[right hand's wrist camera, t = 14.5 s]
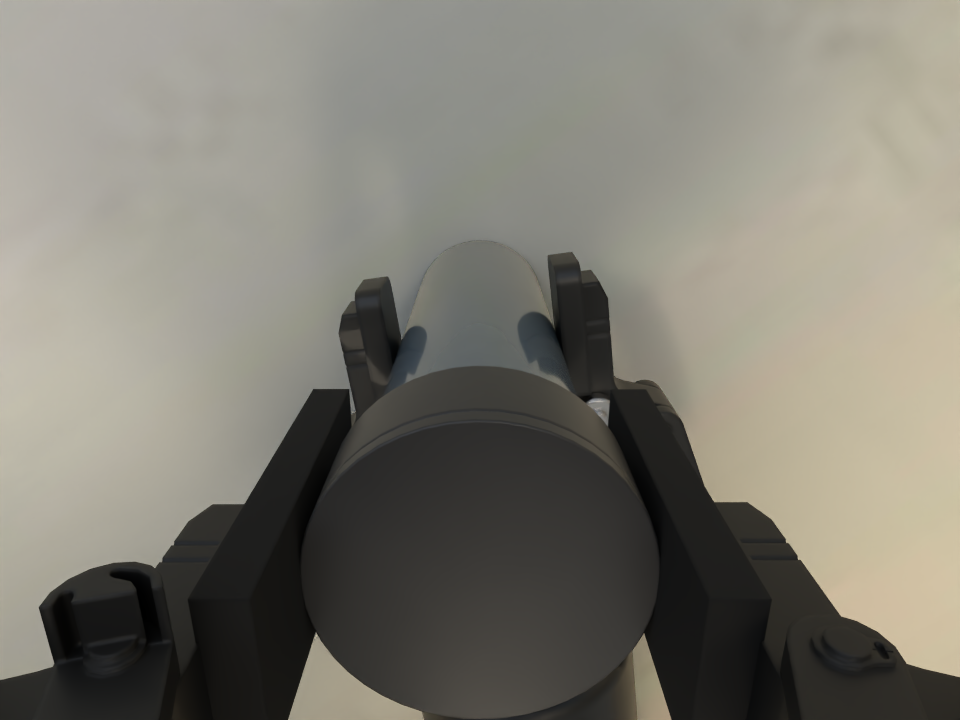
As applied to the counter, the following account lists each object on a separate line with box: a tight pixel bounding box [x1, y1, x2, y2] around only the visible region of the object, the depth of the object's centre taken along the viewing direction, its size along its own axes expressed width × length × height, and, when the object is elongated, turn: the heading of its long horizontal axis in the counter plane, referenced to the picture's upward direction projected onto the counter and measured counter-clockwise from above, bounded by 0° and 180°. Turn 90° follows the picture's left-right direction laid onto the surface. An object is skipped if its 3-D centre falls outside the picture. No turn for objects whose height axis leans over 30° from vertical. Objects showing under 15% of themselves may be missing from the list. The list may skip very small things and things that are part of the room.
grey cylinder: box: [382, 241, 578, 397], centre depth 18 cm, size 5×5×16 cm
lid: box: [300, 366, 661, 719], centre depth 11 cm, size 6×6×2 cm
